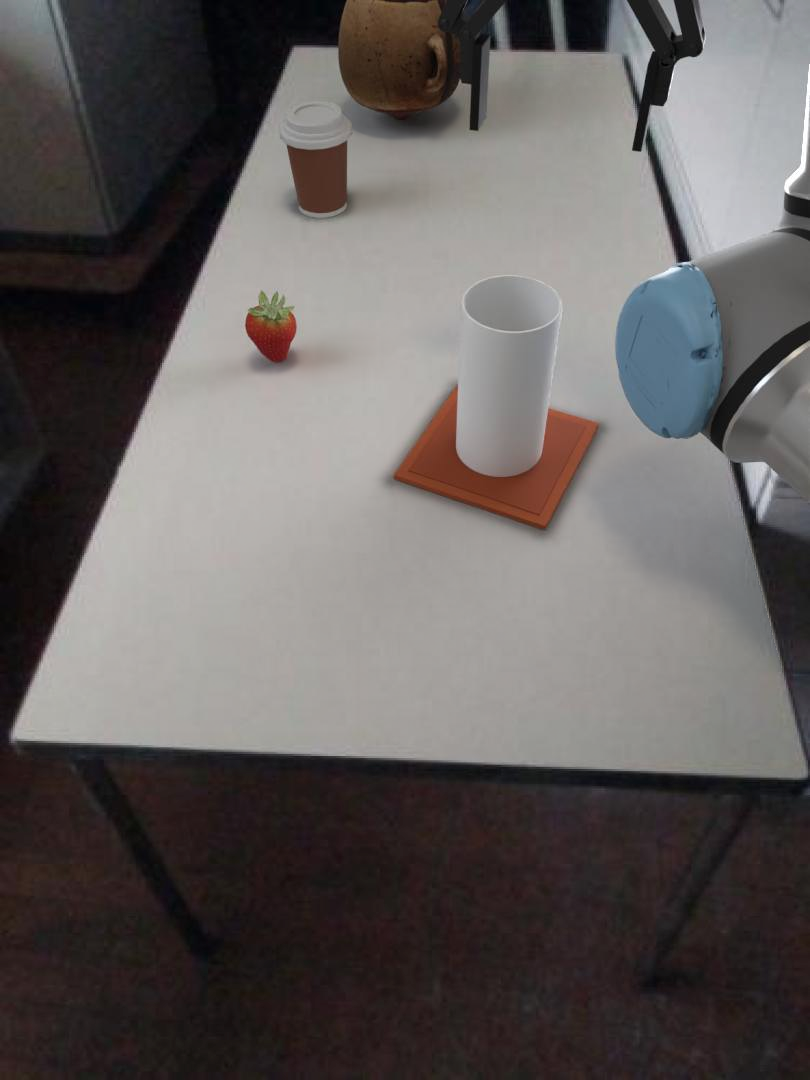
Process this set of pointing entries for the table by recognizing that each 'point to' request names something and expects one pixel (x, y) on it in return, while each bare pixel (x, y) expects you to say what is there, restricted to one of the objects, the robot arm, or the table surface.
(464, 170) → the table surface
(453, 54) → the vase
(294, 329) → the fruit
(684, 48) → the robot arm
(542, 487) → the mat
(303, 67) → the table surface
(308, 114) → the coffee cup
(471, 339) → the cup
